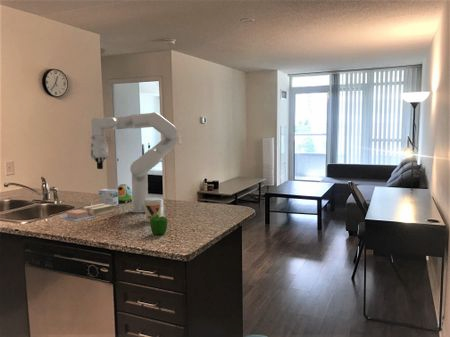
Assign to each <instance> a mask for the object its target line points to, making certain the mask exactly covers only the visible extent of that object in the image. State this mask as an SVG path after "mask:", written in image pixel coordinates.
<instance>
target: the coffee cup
mask: <svg viewBox="0 0 450 337" xmlns="http://www.w3.org/2000/svg"><path fill="white" fill-rule="evenodd" d="M144 204H145V212H144V215H145V221H146V222H148V223H150V219H151V218H154V217H156V215H155V216H154V215H153V214H158V215H159V217H161V210H162V198H160V197H148V198H146V199H145V200H144Z"/></svg>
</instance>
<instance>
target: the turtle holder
mask: <svg viewBox="0 0 450 337" xmlns="http://www.w3.org/2000/svg"><path fill="white" fill-rule="evenodd" d="M115 189H118V202H119V201H123V202H124V204H127V203H128V201H130V202H132V187H130V186H129V185H128V184H127V183H126V184H124V183H121V184H117V186H116V187H115Z"/></svg>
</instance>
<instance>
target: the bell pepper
mask: <svg viewBox="0 0 450 337" xmlns="http://www.w3.org/2000/svg"><path fill="white" fill-rule="evenodd" d="M153 215H154V216H155V215H156V217H154V218H151V219H150V222H149V226H150V230H151V233H152V234H153V235H155V236H156V235H164V234H165V233H166V232H167V228H168V219H167V217H165V216H160V217H159V215H158V214H153Z"/></svg>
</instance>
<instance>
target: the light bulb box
mask: <svg viewBox="0 0 450 337" xmlns="http://www.w3.org/2000/svg"><path fill="white" fill-rule="evenodd" d="M101 203H103V204H109V205H114V207H117V206H119V201H118V189H116V188H115V189H114V188H102V189H98V204H101Z"/></svg>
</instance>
